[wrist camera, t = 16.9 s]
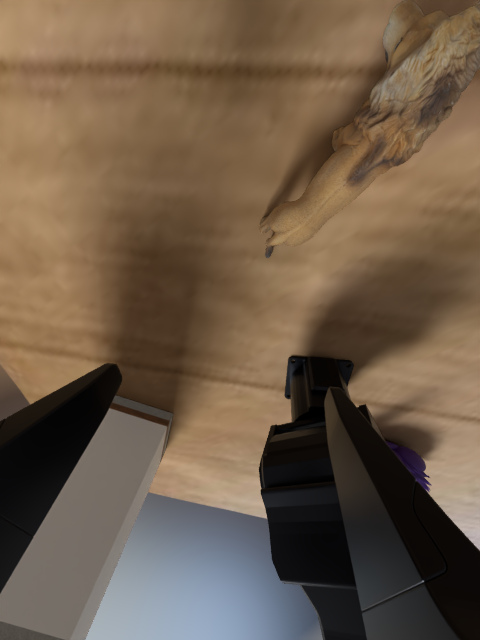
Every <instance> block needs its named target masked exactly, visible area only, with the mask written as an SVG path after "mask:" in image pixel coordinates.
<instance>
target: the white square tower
mask: <svg viewBox="0 0 480 640" xmlns="http://www.w3.org/2000/svg"><path fill="white" fill-rule="evenodd" d="M172 417H173V413H170V412H167V411H163V410H160V409H157V408H154V407H151V406H148V405H145V404H142V403H139V402H135V401H132V400H129V399H126V398H123V397H120V396H117V395H115V397H114V399H113V402H112V404H111V406H110V408H109V410H108V412H107V414H106V416H105V418H104V419H103V421H102V423H101V424H100V426H99V428H98V429H97V431H96V433H95V435H94V436H93V438H92V440H91V441H90V443H89V445H88V446H87V448H86V450H85V451H84V453H83V455H82V456H81V458H80V460H79V462H78V463H77V465H76V467H75V468H74V470H73V472H72V473H71V475H70V477H69V478H68V480H67V482H66V483H65V485H64V487H63V489H62V490H61V492H60V494H59V495H58V497H57V499H56V500H55V502H54V504H53V505H52V507H51V509H50V510H49V512H48V514H47V516H46V517H45V519H44V521H43V522H42V524H41V526H40V527H39V529H38V531H37V532H36V534H35V536H34V538H33V539H32V541H31V543H30V544H29V546H28V548H27V550H26V551H25V553H24V555H23V556H22V558H21V560H20V561H19V563H18V565H17V566H16V568H15V570H14V571H13V573H12V575H11V577H10V578H9V580H8V582H7V583H6V585H5V587H4V588H3V590H2V592H1V593H0V640H85V639H86V636H87V634H88V632H89V629H90V627H91V624H92V622H93V620H94V617H95V615H96V613H97V610H98V608H99V606H100V603H101V601H102V598H103V596H104V594H105V591H106V589H107V587H108V584H109V582H110V580H111V577H112V575H113V573H114V570H115V568H116V566H117V563H118V561H119V559H120V556H121V554H122V551H123V549H124V547H125V544H126V542H127V540H128V537H129V535H130V533H131V530H132V528H133V525H134V523H135V521H136V518H137V516H138V514H139V511H140V509H141V507H142V504H143V502H144V500H145V497H146V495H147V493H148V490H149V488H150V485H151V483H152V481H153V478H154V476H155V474H156V471H157V469H158V467H159V464H160V462H161V460H162V457H163V455H164V453H165V450H166V446H167V441H168V436H169V431H170V427H171V422H172Z"/></svg>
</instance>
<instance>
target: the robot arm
mask: <svg viewBox="0 0 480 640" xmlns="http://www.w3.org/2000/svg"><path fill="white" fill-rule="evenodd" d="M291 360H295V361H294V362H292V361H291ZM346 364H350V365H349V366H346ZM353 366H354V364H353V362H352V361H350V360H338V359H332V358H318V357H297V356H291V357H289V359H288V366H287V376H286V386H285V398H287V399H291V415H292V422H290V423H286V424H282V425H272V426H271V428H270V431H269V435H268V438H267V441H266V444H265V448H264V451H263V454H262V458H261V462H260V467H259V474H260V483H261V488H262V489H261V496H262V499H263V502H264V505H265V508H266V513H267V518H268V524H269V532H270V543H271V554H272V561H273V564H274V566H275V568H276V571H277V573H278V576H279V578H280V580H281V582H282V583H285V584H296V585H300V586H301V588H302V590H303V591H304V593H305V594H306V596H307V598H308V599H309V601H310V603H311V604H312V606H313V608H314V609H315V611H316V613H317V615H318V619H319V623H320V627H321V631H322V637H323V640H480V551H479V549H478V548H477V547H476V546H475V545H474V544H473V543H472V542H471V541H470V540H469V539H468V538H467V537H466V536H465V534H464V533H463V532H462V531H461V530H460V529H459V528H458V527H457V526H456V525H455V524H454V522H453V521H452V520H451V519H450V518H449V517H448V516H447V515H446V514H445V512H444V511H443V510H442V509H441V508H440V507H439V505H438V504H437V503H436V502H435V501H434V500H433V498H432V497H431V496H430V495H429V494H428V493H427V491H426V490H425V489H424V488H423V487H422V485H421V484H420V483H419V482H418V481H416V478H415V477H414V476H413V475H412V473H411V472H410V471H409V470H408V469H407V467H406V466H405V465H404V464H403V463H402V461H401V460H400V459H399V458H398V457H397V455H396V454H395V453H394V452H393V451H392V449H391V448H390V447H389V446H388V444H387V443H386V442H385V441H384V438H383V436H382V434H381V432H380V430H379V428H378V426H377V424H376V423H375V421H374V419H373V417H372V415H371V413H370V411H369V409H368V408H367V406H366V404H365V405H361V406H359V407H356V406H355V405H354V404H353V402H352V401H351V399H350V395H349V392H348V389H347V386H348V382H349V379H350V376H351V373H352V370H353ZM121 382H122V375H121V373H120V370H119V368H118V366H117V365H116V364H111V363H106V364H104V365H102V366H100V367H99V368H97V369H95V370H93V371H91V372H89V373H88V374H86V375H84V376H82V377H80V378H78V379H77V380H75V381H73V382H71V383H69V384H67V385H66V386H64V387H62V388H60V389H58V390H56V391H55V392H53V393H51V394H49V395H47V396H45V397H44V398H42V399H40V400H38V401H36V402H34V403H33V404H31V405H29V406H27V407H25V408H23V409H22V410H20V411H18V412H16V413H14V414H13V415H11V416H9V417H7V418H6V419H3V420H1V421H0V593H1V592H2V590H3V588H4V587H5V585H6V583H7V582H8V580H9V578H10V577H11V575H12V573H13V571H14V570H15V568H16V566H17V565H18V563H19V561H20V560H21V558H22V556H23V555H24V553H25V551H26V550H27V548H28V546H29V544H30V543H31V541H32V539H33V538H34V536H35V534H36V532H37V531H38V529H39V527H40V526H41V524H42V522H43V521H44V519H45V517H46V516H47V514H48V512H49V510H50V509H51V507H52V505H53V504H54V502H55V500H56V499H57V497H58V495H59V494H60V492H61V490H62V489H63V487H64V485H65V483H66V482H67V480H68V478H69V477H70V475H71V473H72V472H73V470H74V468H75V467H76V465H77V463H78V462H79V460H80V458H81V456H82V455H83V453H84V451H85V450H86V448H87V446H88V445H89V443H90V441H91V440H92V438H93V436H94V435H95V433H96V431H97V429H98V428H99V426H100V424H101V423H102V421H103V419H104V418H105V416H106V414H107V412H108V410H109V408H110V406H111V404H112V402H113V399H114V397H115V395H116V393H117V391H118V389H119V387H120V385H121ZM288 395H291V396H288Z"/></svg>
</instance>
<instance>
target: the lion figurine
mask: <svg viewBox="0 0 480 640" xmlns="http://www.w3.org/2000/svg"><path fill="white" fill-rule="evenodd" d="M383 45H384V48H385V54H386V61H387V70H386V72H385V74H384V76H383V77H382V78H381V79H380V80H379V81H378V82H377V83H376V84H375V86H374V87H373V88H372V90H371V94H370V97H369V98H368V100H367V101H366V102H365V103H364V104H363V106H362V107H361V108H360V109H359V111H358V112H357V113H356V115H355V118H354V120H353V122H352V123H350V124H349V125H348V126H346V127H345V128H344V127H340V128H339V129H336V130H335V131H334V133H333V138H332V147H333V149H334V151H335V153H334V154H332V155H331V156H330V158H329V159H328V160H327V161H326V162H325V163H324V164H323V165H322V167H321V168H320V170H319V171H318V172H317V174H316V175H315V177H314V178H313V179H312V181H311V182H310V183H309V185H308V187H307V188H306V190H305V192H304V194H303V195H302V196H301V197H300V198H299V199H298V200H296V201H292V202H284V203H282V204H281V205H279V206H277V207H276V208H275V209H274V210H273V211H272V212H271V213H270V215H269V216H267V217H264V218H263V219H262V220H261V222H260V227H259V229H260V231H261V232H262V233H266V232H267V231H268V230H269V229H270V228H271V229H272V230H273V231H274V232H275V234H274V235H273V236H272V237H271V238H269V239H267V240H266V244H267V248H266V253H265V256H266V257H267V258H269V257H270V256H271V253H272V252H273V246H274V245H279V244H282V243H285V244H286V245H290V246H296V245H300V244H302V243H304V242H306V241H308V240H309V239H311V238H312V237H313V236H314V235H315V234H316V233H317V232H318V230H319V229H320V228H321V227H322V226H323V225H324V223H325V222H326V221H328V220H329V219H330V218H331V217H332V216H334V215H335V214H336V213H337V212H339V211H340V210H341V209H343V208H344V207H345V206H347V205H348V204H349V203H351V202H352V201H353V200H354V199H356V198H357V197H358V196H359V195H360V194H361V193H362V192H363V191H364V190H365V189H366V188H367V187H368V186H369V185H370V184H371V183H372V182H373V181H374V179H375V178H376V177H377V176H378V175H380V174H383V173H385V172H386V171H388V170H389V169H390V168H391V167H394V166H398V165H400V164H402V163H404V162H406V161H407V160H408V159H409V158H411V156H412V155H413V154H414V153H416V152H419V151H420V149H421V147H422V145H423V142H424V141H425V140H426V139H427V138H428V137H429V135H430V134H431V133H432V132H434V131H435V130H436V129H437V127H438V125H439V124H440V123H441V122H442V121H443V120H445V119H447V118H448V116H449V115H450V113H451V112H452V106H453V105H454V104H455V103H456V102H457V101H458V99H459V97H460V95H461V92H462V91H464V90H465V89H466V88H467V86H468V85H469V83H470V82H471V79H472V78H473V77H474V74H475V72H476V71H477V70H478V69H479V68H480V2H478V3H477V4H476V5H475V6H472V7H470V8H468V9H466V10H465V11H463V12H460V13H459V14H456V15H453V16H451V17H449V16H448V15H447V14H445V13H444V12H443V11H440V10H439V11H436V12H433V13H430V14H428V15H427V16H425V15H424V14H423V13H422V11H421V9H420V7H419V6H418V5H417V4H416V3H415V2H414V1H412V0H405V1H403V2H401V3H400V4H398V5H397V6H396V7H395V9H394V10H393V12H392V14H391V16H390V19H389V24H388V25H387V27H386V29H385V32H384V36H383Z"/></svg>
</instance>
